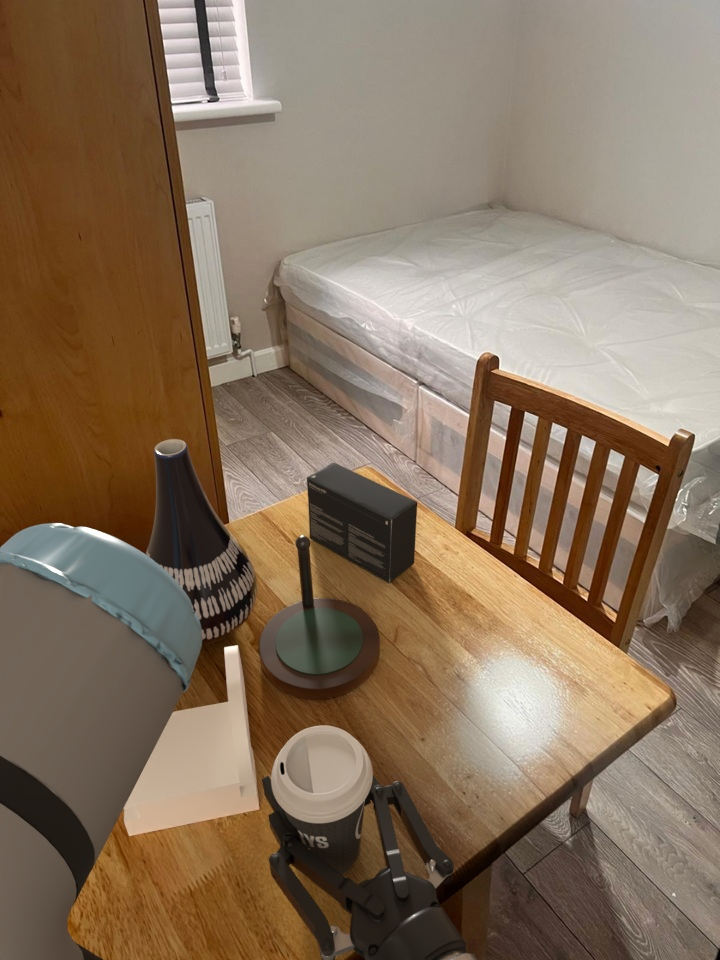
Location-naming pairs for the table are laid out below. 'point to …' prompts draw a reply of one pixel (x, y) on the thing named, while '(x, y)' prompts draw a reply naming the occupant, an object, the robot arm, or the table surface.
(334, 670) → the paper towel holder
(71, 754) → the robot arm
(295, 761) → the coffee cup
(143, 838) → the table surface
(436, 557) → the table surface
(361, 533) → the box
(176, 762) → the white stand
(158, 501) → the vase
